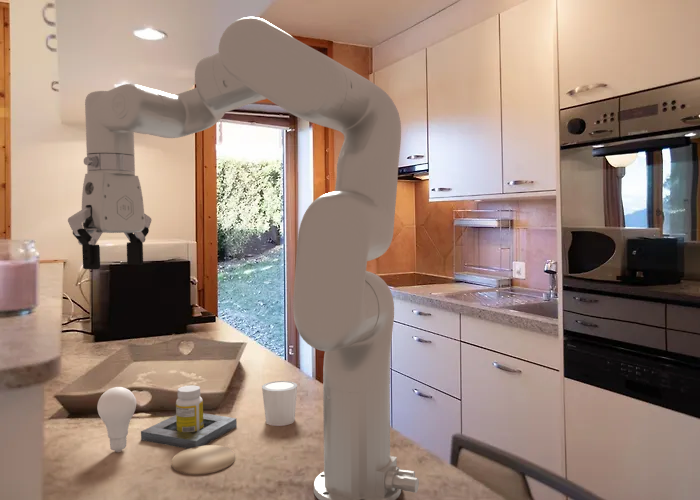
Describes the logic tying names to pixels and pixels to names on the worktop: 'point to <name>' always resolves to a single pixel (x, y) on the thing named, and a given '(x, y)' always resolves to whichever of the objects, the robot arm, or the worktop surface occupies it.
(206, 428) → the collar
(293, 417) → the white cup
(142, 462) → the worktop surface
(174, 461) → the coaster
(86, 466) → the worktop surface
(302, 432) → the worktop surface
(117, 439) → the lightbulb
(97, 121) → the robot arm
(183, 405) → the supplement bottle
